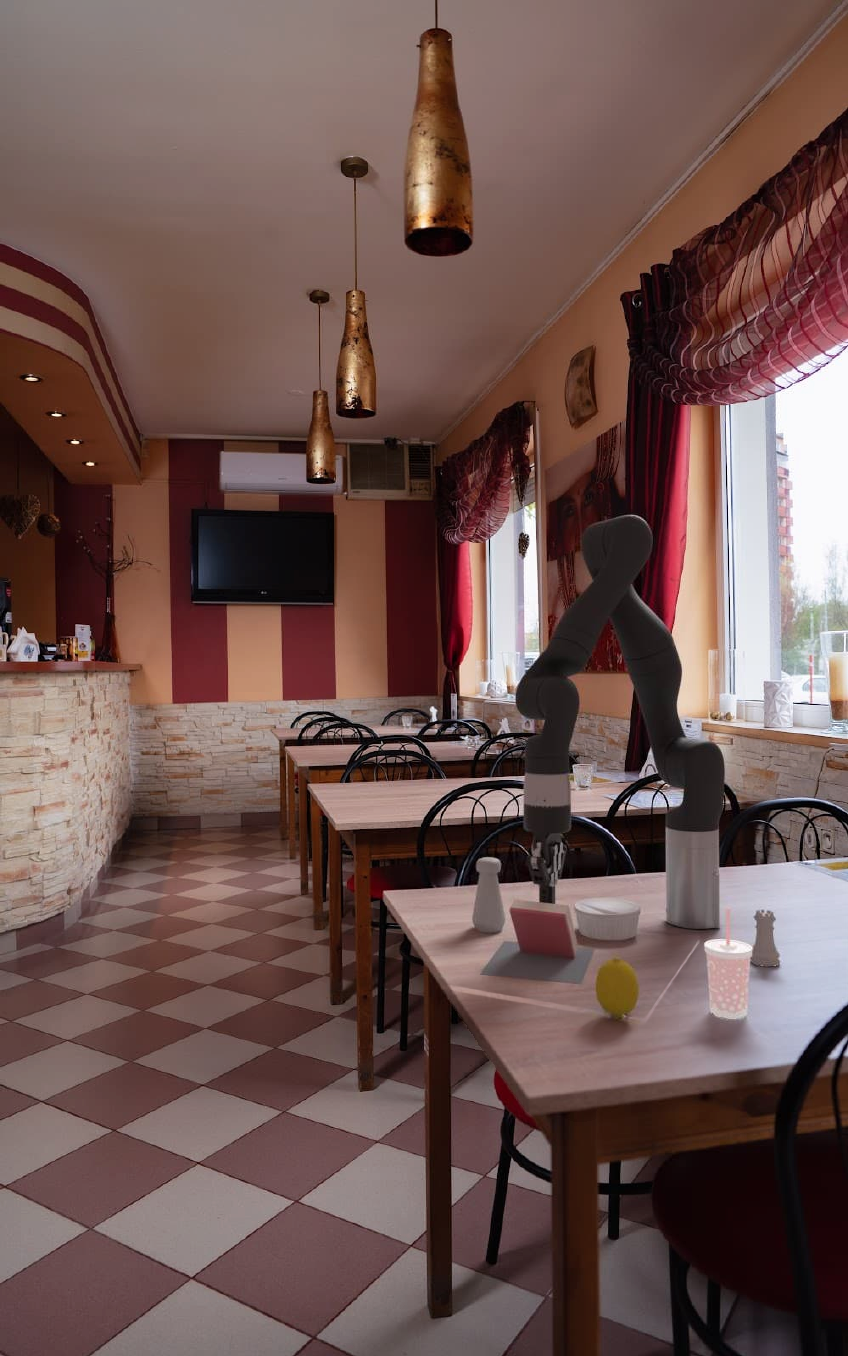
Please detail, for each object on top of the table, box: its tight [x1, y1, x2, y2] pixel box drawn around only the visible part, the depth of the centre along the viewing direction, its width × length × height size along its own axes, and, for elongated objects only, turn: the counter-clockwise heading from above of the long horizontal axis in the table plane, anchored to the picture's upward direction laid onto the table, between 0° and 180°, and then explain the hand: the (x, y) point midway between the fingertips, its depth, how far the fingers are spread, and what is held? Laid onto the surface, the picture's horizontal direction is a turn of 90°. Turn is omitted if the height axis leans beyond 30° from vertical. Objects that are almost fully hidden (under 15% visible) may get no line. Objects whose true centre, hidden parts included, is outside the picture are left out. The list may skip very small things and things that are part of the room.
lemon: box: [595, 957, 640, 1020], centre depth 117 cm, size 6×6×8 cm
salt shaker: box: [471, 856, 506, 934], centre depth 156 cm, size 6×6×13 cm
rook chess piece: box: [750, 909, 781, 967], centre depth 139 cm, size 4×4×8 cm
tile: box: [508, 898, 579, 959], centre depth 140 cm, size 2×9×9 cm
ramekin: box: [573, 897, 641, 941], centre depth 154 cm, size 11×11×5 cm
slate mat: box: [479, 940, 595, 985], centre depth 139 cm, size 15×17×1 cm
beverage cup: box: [703, 907, 754, 1019], centre depth 118 cm, size 6×6×14 cm
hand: (547, 908), depth 142 cm, fingers closed
